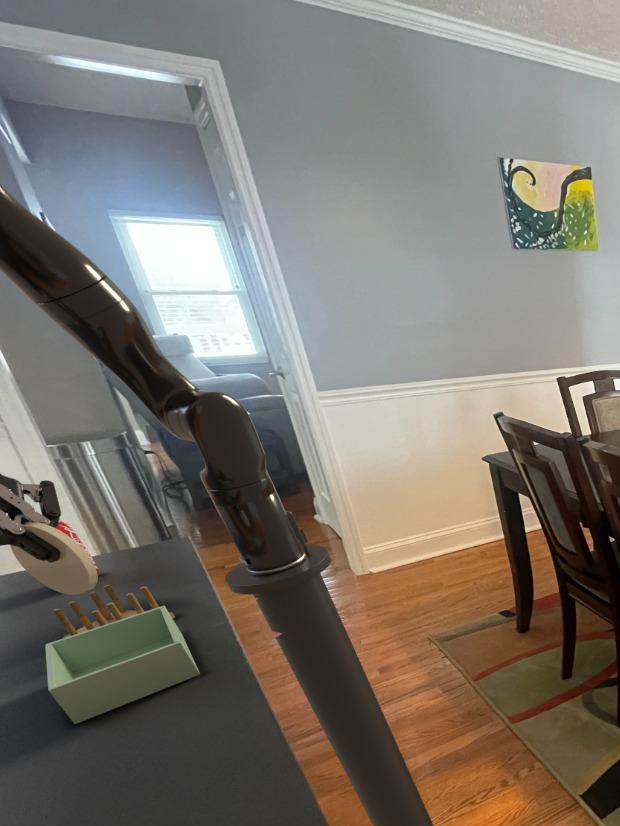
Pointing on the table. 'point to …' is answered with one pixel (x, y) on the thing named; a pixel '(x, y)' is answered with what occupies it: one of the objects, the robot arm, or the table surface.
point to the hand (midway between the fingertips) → (64, 554)
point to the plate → (59, 562)
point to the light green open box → (117, 664)
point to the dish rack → (105, 610)
